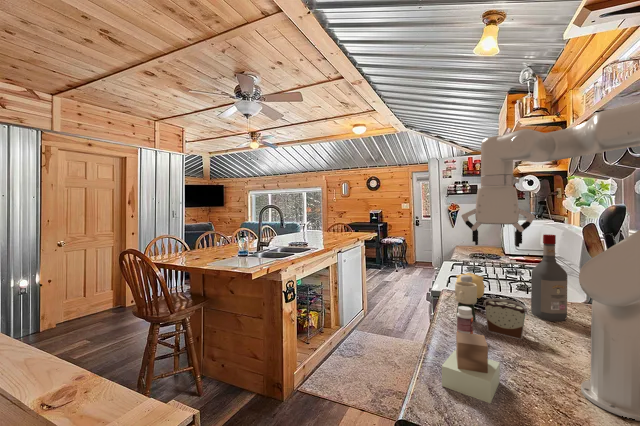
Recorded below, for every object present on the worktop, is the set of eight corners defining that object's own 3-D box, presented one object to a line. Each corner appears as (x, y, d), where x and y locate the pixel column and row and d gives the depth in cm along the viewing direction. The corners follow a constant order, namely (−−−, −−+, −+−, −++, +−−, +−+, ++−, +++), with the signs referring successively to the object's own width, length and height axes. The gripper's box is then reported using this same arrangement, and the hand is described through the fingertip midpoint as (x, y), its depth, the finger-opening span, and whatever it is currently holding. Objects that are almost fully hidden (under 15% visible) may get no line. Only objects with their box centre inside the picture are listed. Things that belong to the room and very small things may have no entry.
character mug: (461, 313, 116) (461, 279, 116) (481, 318, 111) (481, 282, 111) (449, 321, 108) (449, 285, 108) (470, 327, 103) (471, 289, 103)
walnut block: (483, 360, 72) (484, 335, 72) (487, 373, 67) (487, 346, 67) (456, 356, 75) (456, 331, 74) (457, 368, 69) (457, 342, 69)
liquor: (571, 321, 107) (572, 236, 106) (544, 321, 107) (545, 236, 106) (552, 312, 116) (553, 233, 115) (527, 312, 116) (528, 233, 115)
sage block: (499, 383, 72) (499, 362, 72) (490, 405, 64) (490, 381, 64) (454, 368, 78) (454, 349, 78) (441, 387, 70) (441, 365, 70)
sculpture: (483, 294, 139) (483, 271, 139) (485, 302, 128) (485, 277, 128) (455, 292, 144) (455, 269, 143) (455, 299, 133) (455, 275, 132)
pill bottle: (475, 337, 95) (475, 311, 95) (458, 336, 96) (458, 310, 96) (470, 331, 100) (470, 306, 100) (455, 330, 101) (455, 305, 100)
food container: (531, 334, 97) (531, 303, 97) (527, 341, 92) (527, 308, 92) (488, 324, 105) (488, 295, 105) (482, 330, 101) (482, 300, 100)
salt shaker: (475, 307, 123) (475, 275, 122) (473, 311, 118) (474, 278, 118) (459, 304, 126) (459, 273, 126) (457, 308, 121) (457, 276, 121)
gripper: (532, 182, 83) (532, 245, 83) (462, 184, 90) (461, 242, 91) (537, 180, 76) (537, 249, 76) (461, 183, 84) (461, 245, 84)
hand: (496, 245), depth 84 cm, fingers open, 9 cm apart
